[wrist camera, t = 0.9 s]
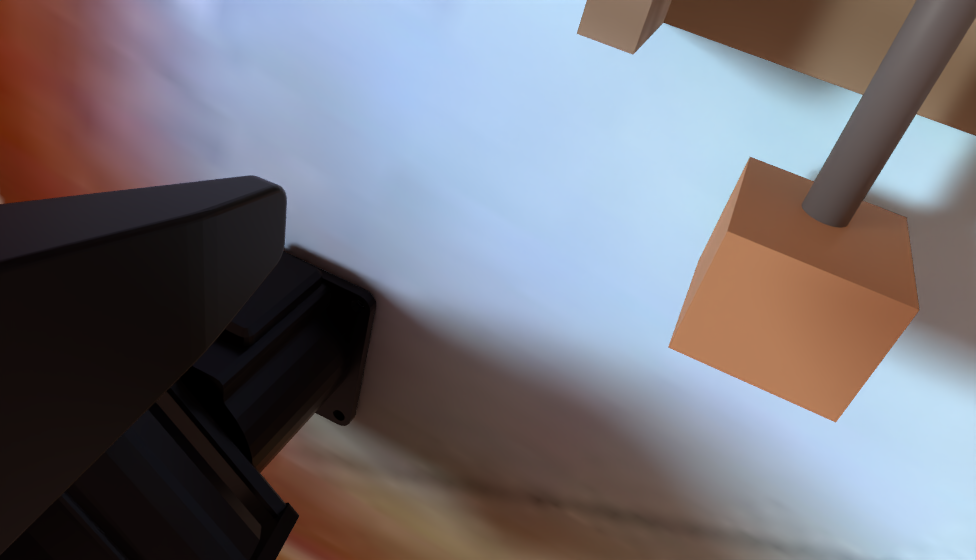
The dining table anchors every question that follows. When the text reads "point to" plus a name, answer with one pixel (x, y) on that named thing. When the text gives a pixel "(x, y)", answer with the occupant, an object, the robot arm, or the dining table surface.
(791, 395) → the tethered block
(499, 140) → the dining table surface
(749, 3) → the tray
